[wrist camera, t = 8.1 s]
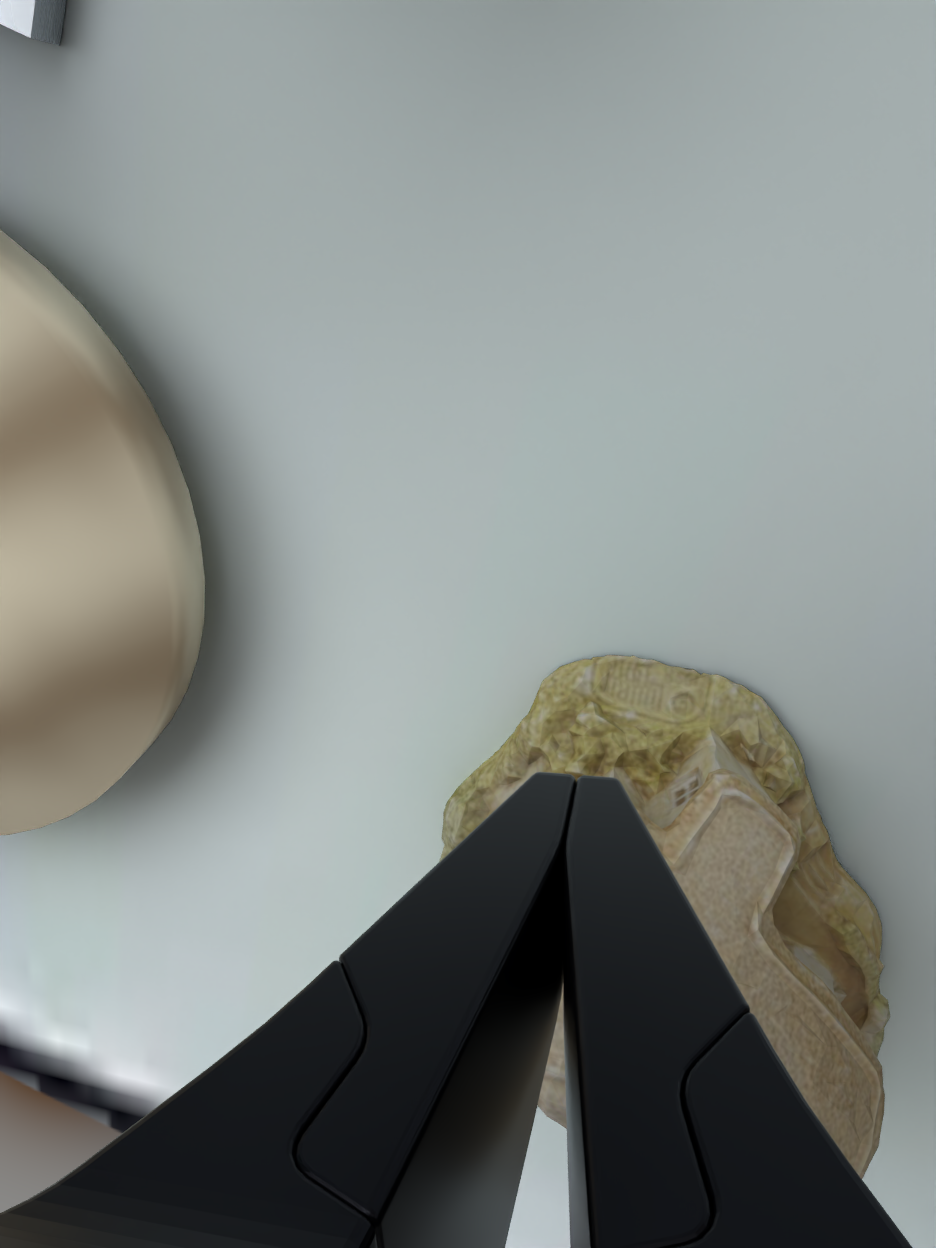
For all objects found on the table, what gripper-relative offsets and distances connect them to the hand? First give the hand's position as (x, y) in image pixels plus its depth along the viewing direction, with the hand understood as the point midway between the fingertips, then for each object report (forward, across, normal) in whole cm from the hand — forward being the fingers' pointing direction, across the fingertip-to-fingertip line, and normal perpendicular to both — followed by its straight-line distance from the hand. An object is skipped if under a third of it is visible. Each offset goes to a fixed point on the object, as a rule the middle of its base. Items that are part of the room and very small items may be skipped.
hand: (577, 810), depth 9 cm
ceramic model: (+13, -2, +12) cm, 18 cm away
